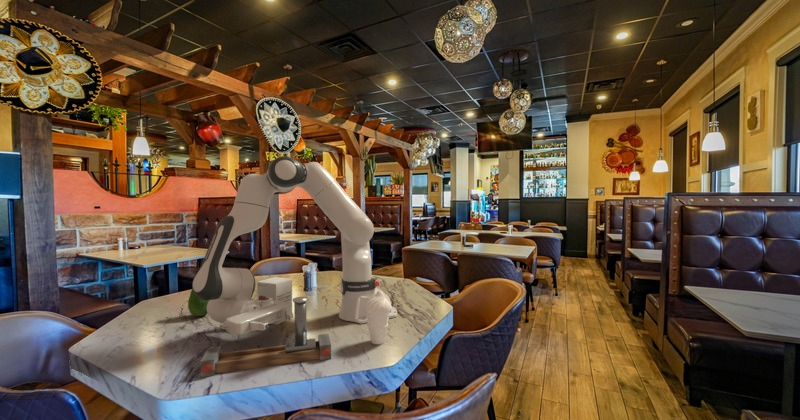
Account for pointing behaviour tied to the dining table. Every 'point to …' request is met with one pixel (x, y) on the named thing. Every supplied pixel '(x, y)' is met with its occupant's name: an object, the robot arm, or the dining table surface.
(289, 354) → the rail
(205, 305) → the avocado
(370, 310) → the soft serve ice cream cone
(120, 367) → the dining table surface
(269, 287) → the supplement box
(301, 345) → the carriage
